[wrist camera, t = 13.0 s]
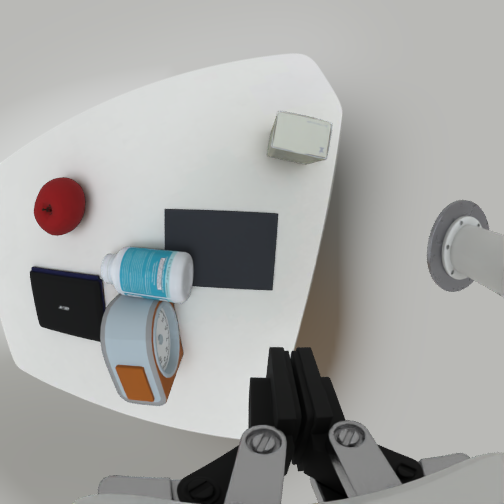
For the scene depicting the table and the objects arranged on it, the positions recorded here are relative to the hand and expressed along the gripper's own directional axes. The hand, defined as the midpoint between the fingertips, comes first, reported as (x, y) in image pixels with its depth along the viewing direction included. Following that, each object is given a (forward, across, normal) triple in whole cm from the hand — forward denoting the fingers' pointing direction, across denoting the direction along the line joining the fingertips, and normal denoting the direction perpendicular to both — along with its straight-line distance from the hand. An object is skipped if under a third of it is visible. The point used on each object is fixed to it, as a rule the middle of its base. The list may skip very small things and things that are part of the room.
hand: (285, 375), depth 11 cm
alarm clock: (+32, +17, +17) cm, 40 cm away
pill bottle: (+28, +10, +6) cm, 30 cm away
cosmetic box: (+32, -4, -13) cm, 35 cm away
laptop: (+32, +36, +15) cm, 51 cm away
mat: (+32, +6, +3) cm, 33 cm away
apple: (+32, +32, -4) cm, 46 cm away
